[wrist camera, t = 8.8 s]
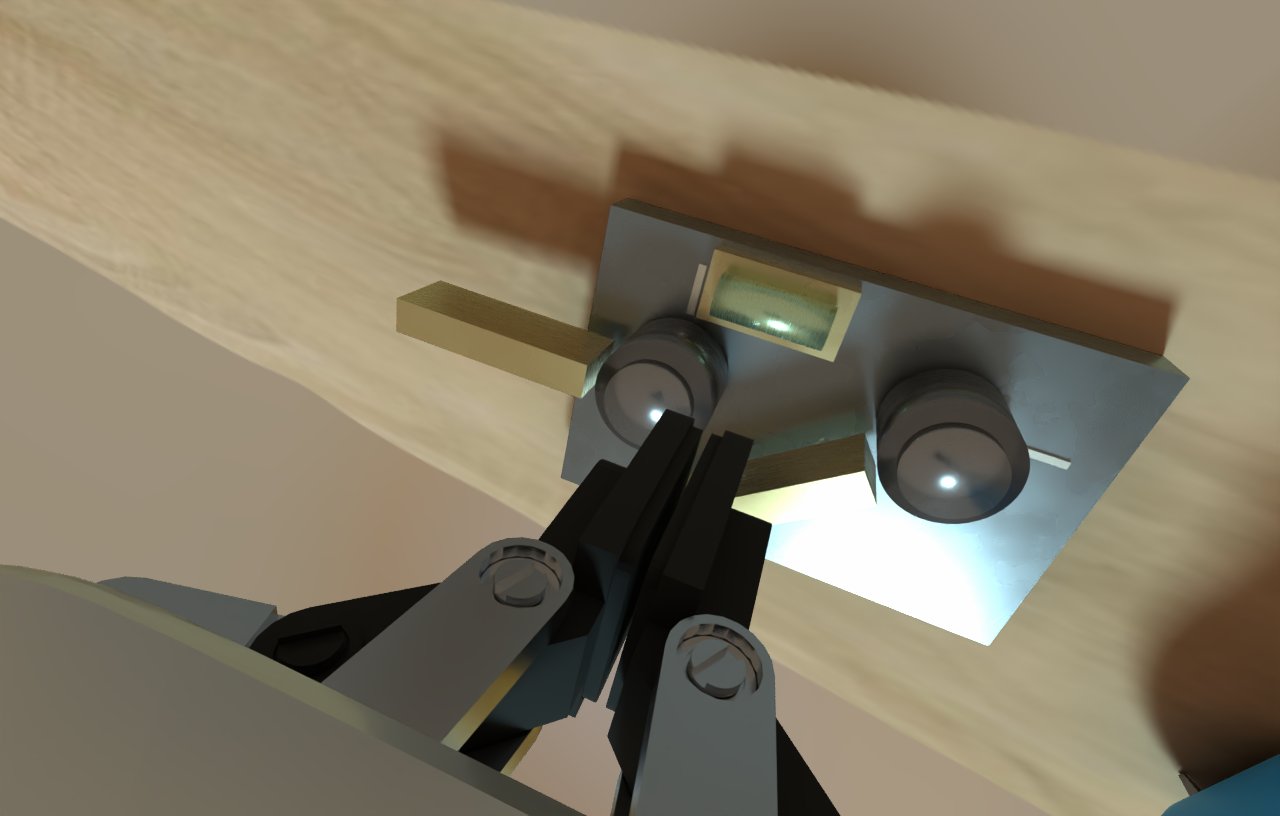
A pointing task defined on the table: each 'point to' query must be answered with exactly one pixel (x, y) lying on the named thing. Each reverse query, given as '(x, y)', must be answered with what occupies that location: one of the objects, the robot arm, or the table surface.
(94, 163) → the table surface
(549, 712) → the robot arm
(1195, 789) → the alarm clock
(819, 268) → the control panel
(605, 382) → the knob
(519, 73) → the table surface
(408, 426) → the table surface
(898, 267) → the table surface
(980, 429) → the knob
